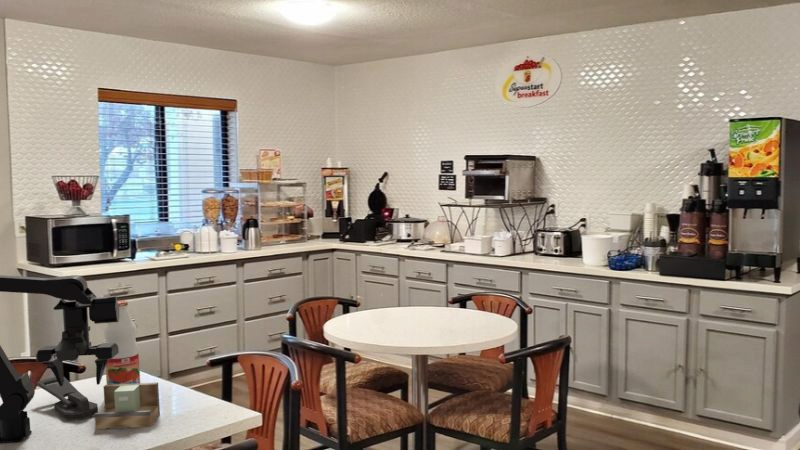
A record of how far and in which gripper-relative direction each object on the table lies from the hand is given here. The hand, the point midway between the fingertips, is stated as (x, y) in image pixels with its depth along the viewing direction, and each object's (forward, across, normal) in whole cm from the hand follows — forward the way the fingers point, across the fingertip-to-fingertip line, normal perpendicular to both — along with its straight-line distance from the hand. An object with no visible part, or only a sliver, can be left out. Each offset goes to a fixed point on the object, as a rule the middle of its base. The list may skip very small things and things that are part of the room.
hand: (80, 385), depth 182 cm
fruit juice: (+12, +1, +30) cm, 32 cm away
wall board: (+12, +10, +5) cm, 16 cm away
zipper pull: (+12, -11, +19) cm, 25 cm away
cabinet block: (+9, +10, +5) cm, 14 cm away
